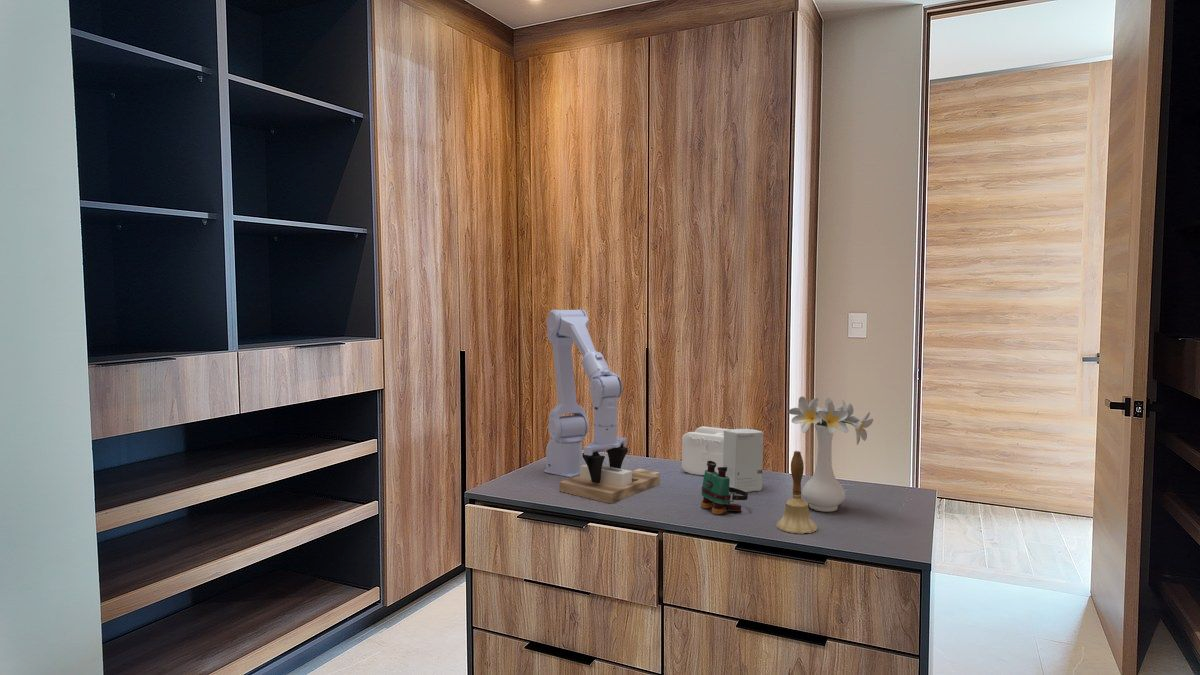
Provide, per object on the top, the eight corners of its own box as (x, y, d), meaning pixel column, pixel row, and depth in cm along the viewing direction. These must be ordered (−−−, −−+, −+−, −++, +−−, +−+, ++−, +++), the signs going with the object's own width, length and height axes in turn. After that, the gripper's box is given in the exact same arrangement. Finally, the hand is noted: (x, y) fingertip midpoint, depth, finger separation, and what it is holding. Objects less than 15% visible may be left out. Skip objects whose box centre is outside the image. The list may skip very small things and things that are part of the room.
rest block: (633, 478, 185) (633, 470, 185) (639, 475, 187) (639, 468, 187) (653, 482, 181) (653, 474, 181) (659, 479, 183) (659, 472, 183)
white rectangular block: (580, 484, 176) (580, 465, 176) (590, 481, 179) (590, 462, 179) (621, 494, 168) (622, 473, 168) (631, 490, 171) (631, 470, 171)
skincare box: (734, 494, 171) (735, 433, 170) (721, 487, 176) (722, 429, 175) (763, 490, 174) (764, 431, 173) (749, 484, 179) (750, 426, 179)
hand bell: (771, 529, 145) (772, 453, 144) (782, 518, 152) (784, 445, 151) (812, 537, 141) (813, 458, 140) (821, 525, 148) (823, 450, 147)
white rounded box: (747, 473, 191) (748, 431, 190) (732, 482, 182) (733, 437, 181) (696, 466, 199) (697, 425, 198) (679, 474, 190) (680, 431, 189)
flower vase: (863, 522, 150) (867, 406, 148) (778, 508, 159) (780, 399, 157) (874, 507, 161) (877, 398, 159) (793, 494, 170) (796, 392, 169)
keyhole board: (609, 475, 188) (609, 466, 188) (659, 485, 178) (659, 476, 178) (559, 491, 172) (559, 481, 172) (611, 503, 163) (611, 493, 162)
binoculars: (756, 468, 157) (718, 468, 153) (752, 515, 157) (713, 516, 153) (734, 459, 165) (697, 459, 161) (729, 504, 165) (692, 504, 161)
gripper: (600, 431, 165) (600, 488, 165) (636, 422, 176) (635, 475, 177) (577, 427, 169) (576, 483, 170) (613, 419, 180) (613, 471, 181)
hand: (605, 479), depth 174 cm, fingers open, 7 cm apart
